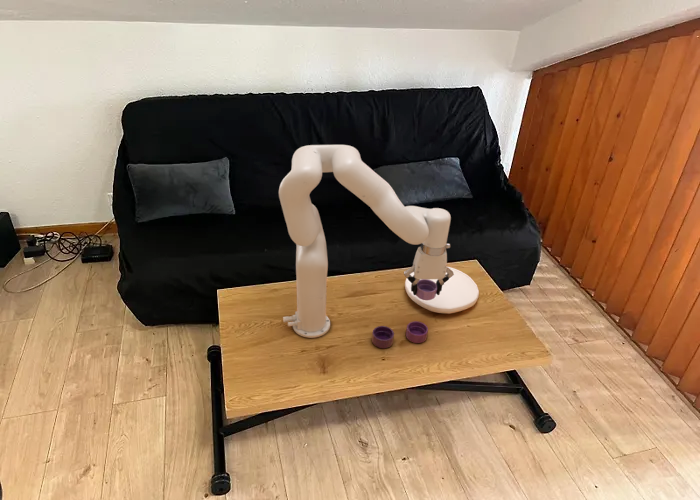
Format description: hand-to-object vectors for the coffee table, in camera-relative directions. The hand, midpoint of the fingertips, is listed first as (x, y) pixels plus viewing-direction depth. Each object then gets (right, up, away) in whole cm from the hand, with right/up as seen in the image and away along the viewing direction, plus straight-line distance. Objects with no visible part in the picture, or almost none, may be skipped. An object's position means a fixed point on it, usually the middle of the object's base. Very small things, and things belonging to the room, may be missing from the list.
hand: (425, 292), depth 162 cm
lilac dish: (0, -1, +1) cm, 1 cm away
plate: (+9, -3, +21) cm, 23 cm away
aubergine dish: (-14, -16, -1) cm, 22 cm away
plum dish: (-3, -15, +1) cm, 15 cm away
